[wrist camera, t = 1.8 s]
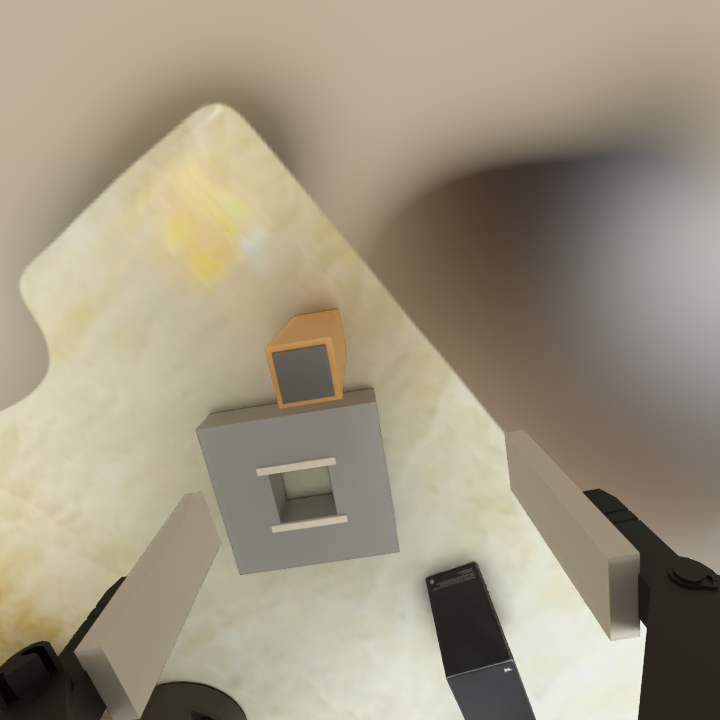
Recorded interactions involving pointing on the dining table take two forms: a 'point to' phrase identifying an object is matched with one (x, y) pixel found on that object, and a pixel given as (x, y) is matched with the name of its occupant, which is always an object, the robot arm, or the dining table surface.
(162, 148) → the dining table surface
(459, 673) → the small box
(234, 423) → the socket
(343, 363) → the plug
